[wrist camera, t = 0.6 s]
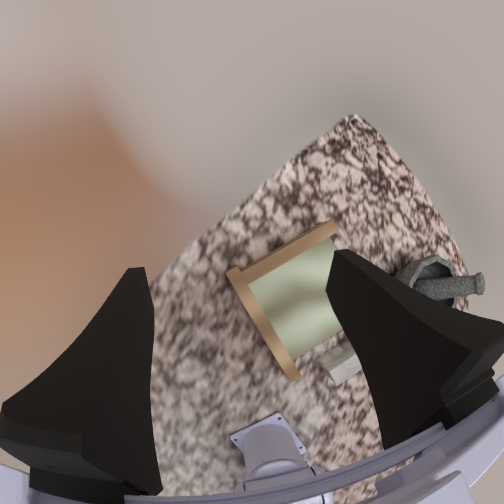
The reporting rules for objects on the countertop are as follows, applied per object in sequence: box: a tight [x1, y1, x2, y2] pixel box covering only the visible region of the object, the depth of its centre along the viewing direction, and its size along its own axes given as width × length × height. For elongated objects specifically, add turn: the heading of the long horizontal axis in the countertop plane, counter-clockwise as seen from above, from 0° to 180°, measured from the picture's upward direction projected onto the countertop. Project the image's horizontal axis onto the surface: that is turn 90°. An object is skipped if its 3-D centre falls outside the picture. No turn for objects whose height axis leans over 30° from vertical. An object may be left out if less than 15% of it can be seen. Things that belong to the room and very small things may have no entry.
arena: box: [225, 219, 342, 382], centre depth 34 cm, size 15×14×4 cm
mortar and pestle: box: [394, 255, 485, 308], centre depth 32 cm, size 11×9×12 cm
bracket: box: [316, 338, 362, 386], centre depth 34 cm, size 8×6×5 cm
